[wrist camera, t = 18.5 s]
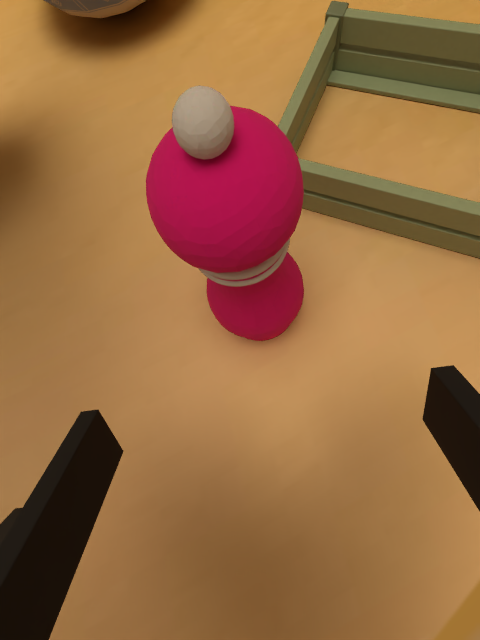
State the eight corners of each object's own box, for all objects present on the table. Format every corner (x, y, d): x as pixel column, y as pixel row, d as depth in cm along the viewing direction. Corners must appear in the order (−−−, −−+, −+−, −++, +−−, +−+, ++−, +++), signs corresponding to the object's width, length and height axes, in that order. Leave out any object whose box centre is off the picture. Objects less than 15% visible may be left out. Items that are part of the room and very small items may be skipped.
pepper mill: (239, 360, 26) (109, 271, 7) (208, 289, 28) (41, 68, 9) (315, 325, 26) (398, 132, 7) (279, 256, 28) (262, -47, 9)
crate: (262, 199, 30) (257, 160, 25) (324, 60, 32) (331, 0, 27) (520, 273, 25) (579, 243, 20) (568, 101, 27) (631, 35, 22)
